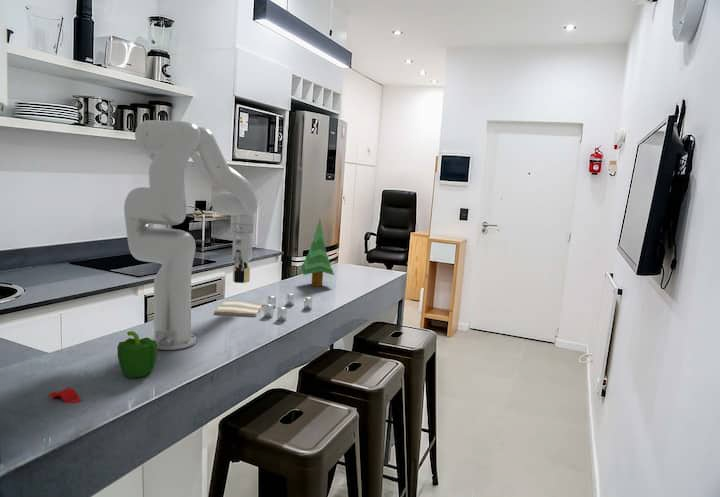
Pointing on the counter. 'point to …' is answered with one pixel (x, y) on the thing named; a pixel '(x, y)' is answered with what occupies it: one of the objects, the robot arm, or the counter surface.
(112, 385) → the counter surface
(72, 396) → the red curved piece
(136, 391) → the counter surface
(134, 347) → the bell pepper
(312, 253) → the decorative tree
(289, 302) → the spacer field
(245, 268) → the brass nut
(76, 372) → the counter surface
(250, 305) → the pad
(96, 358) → the counter surface
